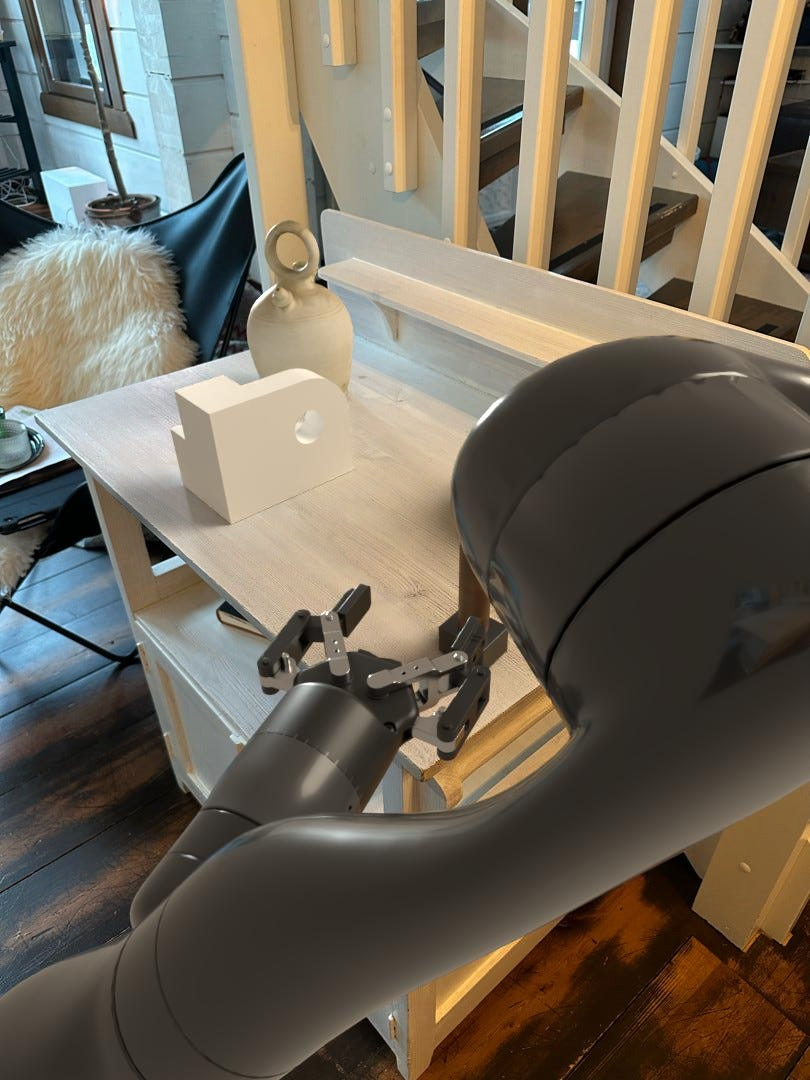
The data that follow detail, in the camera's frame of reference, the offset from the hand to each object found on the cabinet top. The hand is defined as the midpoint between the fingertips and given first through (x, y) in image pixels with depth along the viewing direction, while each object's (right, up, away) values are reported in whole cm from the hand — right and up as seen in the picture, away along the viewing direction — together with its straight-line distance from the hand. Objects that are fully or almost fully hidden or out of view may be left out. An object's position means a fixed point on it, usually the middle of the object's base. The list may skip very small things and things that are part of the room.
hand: (419, 609), depth 54 cm
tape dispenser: (-18, +13, +43) cm, 48 cm away
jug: (-16, +27, +62) cm, 70 cm away
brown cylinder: (+5, -5, +16) cm, 18 cm away
